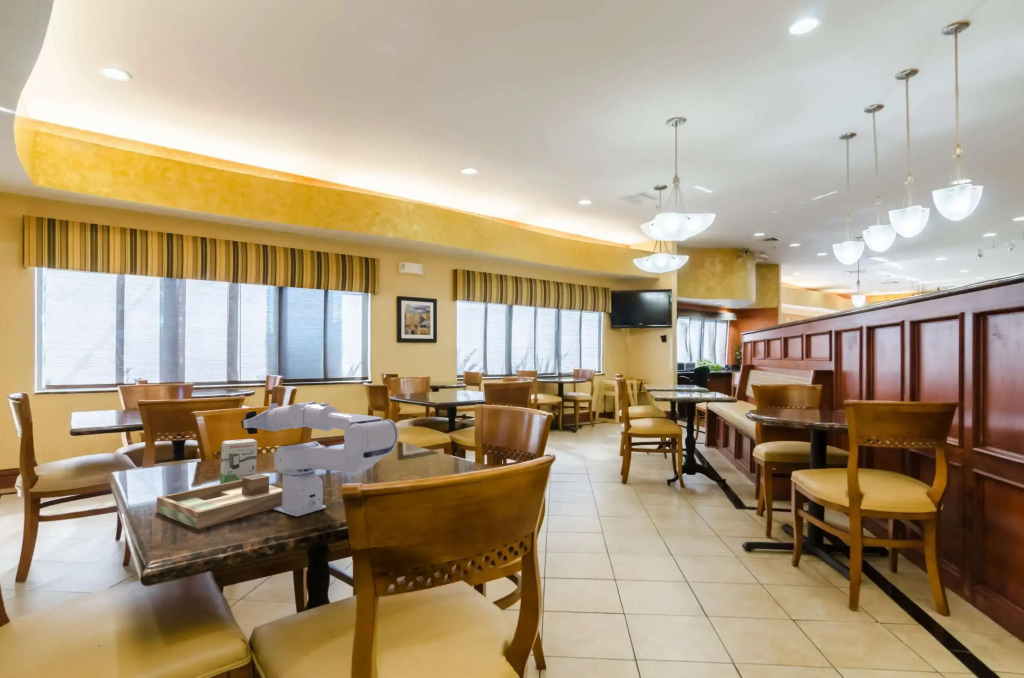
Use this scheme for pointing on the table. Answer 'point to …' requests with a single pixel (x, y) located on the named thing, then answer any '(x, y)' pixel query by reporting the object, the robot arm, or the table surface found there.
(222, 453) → the ink box
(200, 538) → the table surface
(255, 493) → the walnut block
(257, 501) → the board
